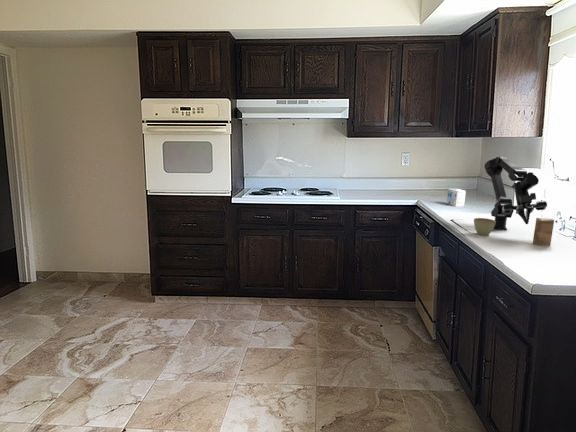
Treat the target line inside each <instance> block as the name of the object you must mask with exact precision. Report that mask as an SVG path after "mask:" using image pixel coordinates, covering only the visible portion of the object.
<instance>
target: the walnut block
mask: <svg viewBox="0 0 576 432" xmlns="http://www.w3.org/2000/svg"><path fill="white" fill-rule="evenodd" d="M554 223H555V219H552V218H550V217H536V219H535V223H534V224H535V225H534V230H533V231H534V232H533V237H532V244H534V245H536V246H544V247H545V246H546V247H549V246H551V245H552V239H553V238H552V237H553V233H554V232H553V231H554Z"/></svg>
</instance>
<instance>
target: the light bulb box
mask: <svg viewBox="0 0 576 432" xmlns="http://www.w3.org/2000/svg"><path fill="white" fill-rule="evenodd" d="M466 193H467V192H466V190H464V189H459V188H447V196H446V197H447V198H446V205H449V206H452V207H465V199H466Z"/></svg>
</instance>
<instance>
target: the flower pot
mask: <svg viewBox="0 0 576 432" xmlns="http://www.w3.org/2000/svg"><path fill="white" fill-rule="evenodd" d="M495 223H496V221H495V219H493V218H492V219H490V218H485V217H484V218H483V217H475V218H474V219H473V226H474V229H475V231H476V233H477V235H479V236H489V235H491V232H492V231H493V229H494V226H495Z"/></svg>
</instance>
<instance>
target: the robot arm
mask: <svg viewBox="0 0 576 432" xmlns="http://www.w3.org/2000/svg"><path fill="white" fill-rule="evenodd" d="M484 170H485V172H486V174H487V175H488V176H489V177H490V179H491V184H492V188H493V192H494V194H495V200H496V201H495V204H494V208H493V209H492V210H491V212H490V213H491V214H490V215H491V217H494V220H495V221H496V223H495V226H494V228H493V229H494V230H495V229H496V230H504V231H507V230H508V227H507V220H508V218H509V219H511V218H512V215H514V214H513V213H514V211H515V215H518V216H519V217H520V218H521V219H522V221H523V222H524V224H525V225H528V224H529V221H530V216H531V213H533V212H534V210H536V211H544V210H546V209H547V207H548V202H547V201H546V200H537V195H536V192H531V193H529V190H530V189H532V188H534V187H536V186H537V185H538V184H539V183H540V182H539V178H538V176H536V175H535V174H534V172H532V171H529V172H528V171H527V170H526V169H525V168H522V167H518V166H516V165H515V164H514V163H513V162H512V161H510V160H509V159H508V157H506V156H499V155H498V156H496V157H495V158H492V159H488V160H487V162H485V163H484ZM503 171H505V172H507V174H508V176H507V177H508V178H509V180H510V181H511V182H514V183H513V184H512V186H511V189H514V194H515V200H516V205H514V204H513V200H512V199H511V198H507V194H506V190H505V186H504V183H503V178H502V172H503ZM533 200H537V201H536V203H532V202H533Z"/></svg>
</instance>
